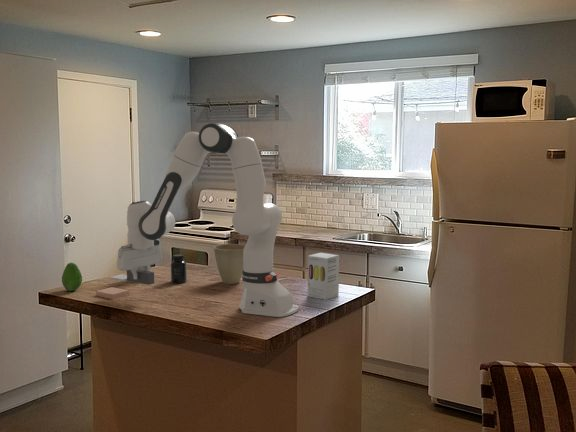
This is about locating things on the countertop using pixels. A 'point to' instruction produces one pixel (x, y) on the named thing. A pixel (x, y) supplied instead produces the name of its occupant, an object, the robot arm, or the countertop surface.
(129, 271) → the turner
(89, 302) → the countertop surface
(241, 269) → the plant pot
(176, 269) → the supplement bottle
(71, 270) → the avocado
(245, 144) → the robot arm
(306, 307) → the countertop surface
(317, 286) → the supplement box
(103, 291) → the glazed tile
